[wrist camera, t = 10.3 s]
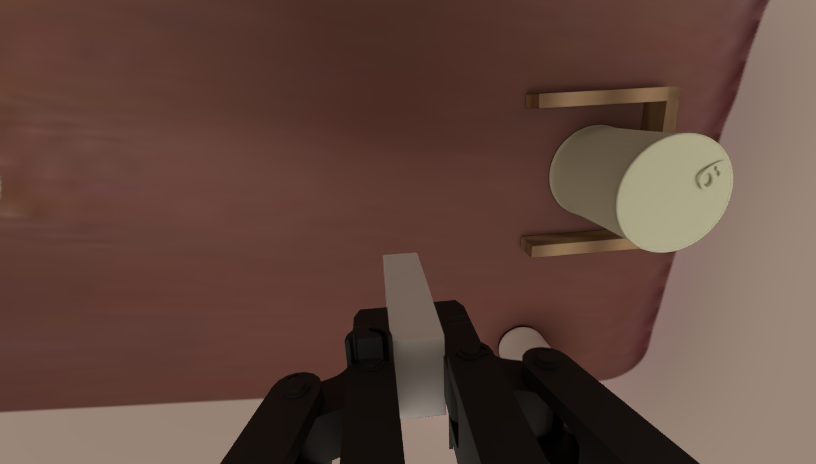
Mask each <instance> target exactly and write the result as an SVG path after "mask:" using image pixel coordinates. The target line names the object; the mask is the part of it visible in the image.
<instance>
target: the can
mask: <svg viewBox="0 0 816 464" xmlns="http://www.w3.org/2000/svg"><path fill="white" fill-rule="evenodd" d="M549 182H550V188H551V191H552V194H553V196H554V198H555V199H556V201H557V202H558V203H559V204H560V205H561V206H562V207H563V208H564V209H565V210H567V211H569V212H571V213H574V214H577V215H580V216H582V217H584V218H586V219H588V220H590V221H592V222H594V223H596V224H598V225H600V226H602V227H604V228H606V229H608V230H610V231H612V232H613V233H615V234H617V235H619V236H621V237H623V238H625V239H627V240H628V241H630V242H631V243H633V244H634V245H636V246H637V247H639V248H641V249H644V250H647V251H651V252H660V253H662V252H672V251H676V250H679V249H683V248H685V247H687V246H689V245H691V244H693V243H695V242H696V241H698V240H699V239H701V238H702V237H703V236H705V235H706V234H707V233H708V232H709V231H710V230H711V229H712V228H713V227H714V226H715V225H716V223H717V222H718V221H719V219H720V218H721V216H722V215H723V213H724V212H725V209H726V207H727V205H728V203H729V200H730V197H731V192H732V187H733V171H732V165H731V162H730V159H729V157H728V155H727V154H726V152H725V151H724V149H723V148H722V147H721V146H720V145H719V144H718V143H717V142H716V141H714V140H713V139H711V138H709V137H707V136H704V135H701V134H696V133H669V132H656V131H643V130H632V129H622V128H615V127H612V126H608V125H593V126H588V127H585V128H583V129H580V130H578V131H577V132H575V133H573V134H572V135H571V136H569V137H568V138H567V139H566V140H565V141H564V142H563V143H562V144H561V146H560V147H559V148H558V150H557V152H556V153H555V155H554V157H553V160H552V163H551V167H550V173H549Z"/></svg>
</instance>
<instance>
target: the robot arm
mask: <svg viewBox="0 0 816 464" xmlns="http://www.w3.org/2000/svg"><path fill="white" fill-rule="evenodd" d="M383 265H384V278H385V292H386V305H387V307H385V308H374V309H363V310H360V311H359V312H358V313H357V314H356V316H355V317H354V324H353V331H351V332H350V333H349V334H348V335H347V336H346V338H345V348H346V357H347V369H346V370H344V371H343V372H342V373H341V374H339V375H337V376H335V377H333V378H330V379H328V380H325V381H320V378H319V377H318V376H316V375H315V374H312V373H307V372H301V373H294V374H291V375H288V376H286V377H284V378H282V379H281V380H279V381H278V382H277V383H276V384H275V385H274V386H273V387H272V388H271V390H270V391H269V393H268V394H267V396H266V397H265V399H264V400H263V401H262V403H261V405H260V406H259V407H258V409H257V410H256V412H255V413H254V415H253V416H252V418H251V419H250V421H249V422H248V424H247V425H246V427H245V428H244V429H243V431H242V432H241V434H240V436H239V437H238V438H237V440H236V441H235V443H234V444H233V446H232V447H231V449H230V450H229V452H228V453H227V455H226V456H225V457H224V459H223V460H222V462H221V463H220V464H332V460H334V459H337V458H339V457H340V464H405V460H404V452H403V441H402V431H401V421H400V420H403V419H412V418H421V417H430V416H439V415H446V405H447V409H448V413H449V446H450V447H449V449H453V446H454V451H455V455H456V458H457V463H458V464H699V463H698V462H697V461H696V460H695V459H693V458H692V457H691V456H690V455H688V454H687V453H686V452H685V451H683V450H682V449H681V448H680V447H679V446H677V445H676V444H675V443H674V442H672V441H671V440H670V439H669V438H667V437H666V436H665V435H664V434H663V433H661V432H660V431H659V430H658V429H657V428H655V427H654V426H653V425H651V424H650V423H649V422H648V421H647V420H645V419H644V418H643V417H642V416H641V415H639V414H638V413H637V412H635V411H634V410H633V409H632V408H631V407H629V406H628V405H627V404H626V403H625V402H623V401H622V400H621V399H620V398H618V397H617V396H616V395H615V394H613V393H612V392H611V391H610V390H609V389H607V388H606V387H605V386H604V385H603V384H601V383H600V382H599V381H598V380H596V379H595V378H594V377H593V376H592V375H590V374H589V373H588V372H587V371H585V370H584V369H583V368H582V367H580V366H579V365H578V364H577V363H576V362H574V361H573V360H572V359H571V358H569V357H568V356H567V355H565V354H564V353H562V352H560V351H558V350H555V349H552V348H547V347H536V348H531V349H529V350H527V351H526V352H525V353H524V354H523V355H522V361H520V360H512V359H505V358H500V357H497V356H495V355H494V353H493V351H492V350H491V348H490V347H489V346H488V345H486V344H484V343H482V342H480V339H479V337H478V335H477V333H476V331H475V329H474V327H473V325H472V322H471V320H470V318H469V316H468V314H467V312H466V310H465V308H464V306H463V305H461V304H460V303H458V302H457V301H456V300H451V301H440V302H433V300H432V297H431V294H430V291H429V288H428V284H427V281H426V278H425V275H424V272H423V269H422V266H421V263H420V260H419V257H418V254H417V252H416V253H404V254H391V255H383Z"/></svg>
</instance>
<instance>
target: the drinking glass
mask: <svg viewBox="0 0 816 464" xmlns="http://www.w3.org/2000/svg"><path fill="white" fill-rule="evenodd" d="M536 347H547V348H551V347H550V346H549V344H548V343H547V342H546V341H545V340H544V338H543V337H542V336H541V335H540V333H538V332H537V331H536V330H534V329H532V328H529V327H518V328H515V329H512V330H511V331H509V332H508V333H506V334H505V335H504V337H503V338H502V339H501V341H500V344H499V356H500V358H505V359H512V360H520V361H522V355H523V354H524V353H525V352H526V351H527V350H529V349H531V348H536Z"/></svg>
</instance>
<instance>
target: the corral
mask: <svg viewBox="0 0 816 464" xmlns="http://www.w3.org/2000/svg"><path fill="white" fill-rule="evenodd" d="M681 87H682V86H674V87H656V88H638V89H619V90H601V91H582V92H564V93H545V94H530V95H526V108H551V107H568V106H586V105H604V104H621V103H639V102H645V105H644V113H643V121H642V128H641V130H643V131H656V132H669V133H675V127H676V120H677V114H678V107H679V100H680V94H681ZM520 247H521V248H522V249H523V250H524V251H525V252H526V253H527V254H528V255H529V256H530V257H531V258H533V257H545V256H556V255H568V254H579V253H591V252H602V251H614V250H626V249H637V248H639V247H637V246H636V245H634V244H633V243H631V242H630V241H628V240H627V239H625V238H623V237H621V236H619V235H617V234H615V233H613V232H612V231H610V230H597V231H585V232H572V233H560V234H548V235H536V236H524V237H521V245H520Z"/></svg>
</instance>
